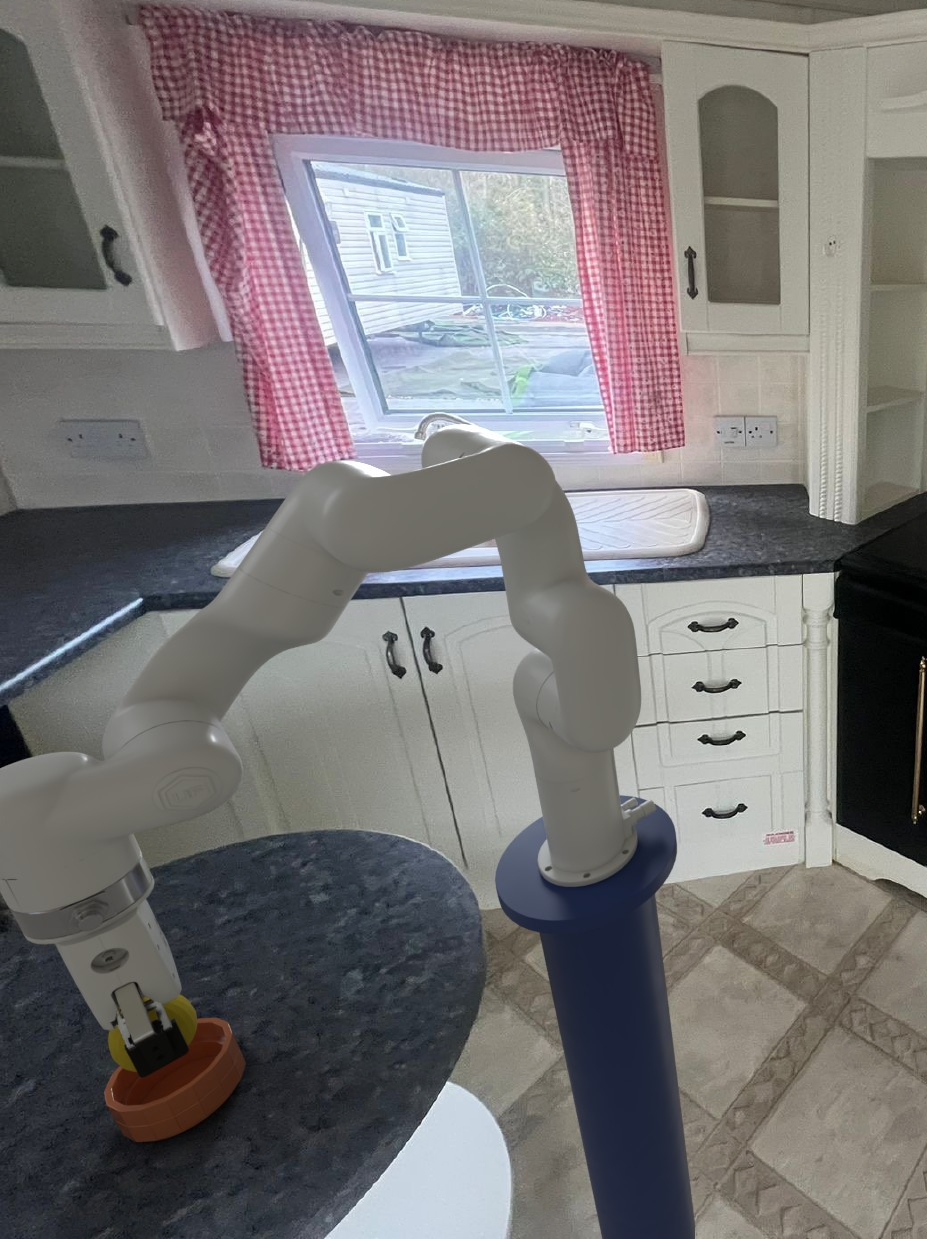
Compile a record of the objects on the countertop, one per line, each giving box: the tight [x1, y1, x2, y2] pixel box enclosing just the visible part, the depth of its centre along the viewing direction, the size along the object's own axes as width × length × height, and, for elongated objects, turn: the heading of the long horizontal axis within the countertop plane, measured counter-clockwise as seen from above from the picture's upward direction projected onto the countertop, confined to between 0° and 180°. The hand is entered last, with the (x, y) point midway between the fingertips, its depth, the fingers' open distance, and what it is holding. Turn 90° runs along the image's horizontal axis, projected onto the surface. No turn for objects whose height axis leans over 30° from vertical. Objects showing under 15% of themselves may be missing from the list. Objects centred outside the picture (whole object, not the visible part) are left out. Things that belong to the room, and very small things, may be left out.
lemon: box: [107, 993, 198, 1072], centre depth 67 cm, size 6×6×8 cm
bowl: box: [103, 1017, 247, 1143], centre depth 69 cm, size 9×9×5 cm
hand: (158, 1039), depth 67 cm, fingers closed on lemon, 5 cm apart
